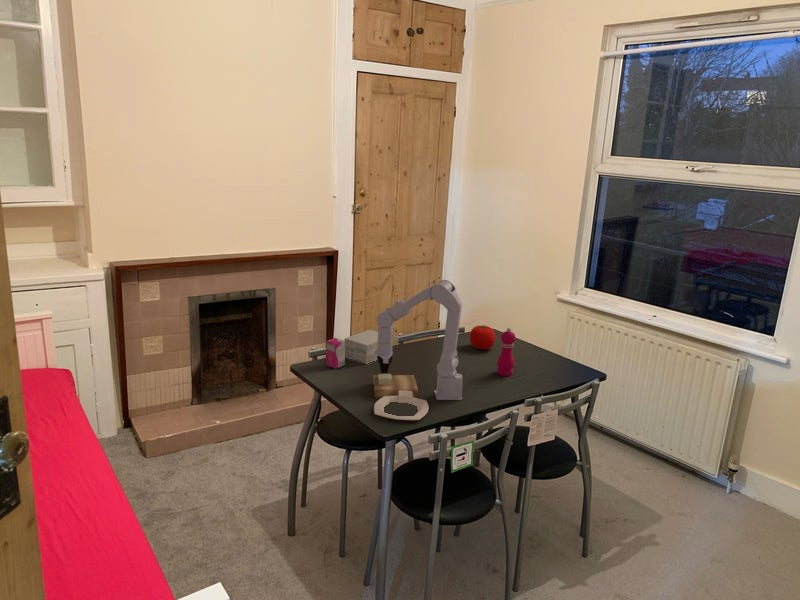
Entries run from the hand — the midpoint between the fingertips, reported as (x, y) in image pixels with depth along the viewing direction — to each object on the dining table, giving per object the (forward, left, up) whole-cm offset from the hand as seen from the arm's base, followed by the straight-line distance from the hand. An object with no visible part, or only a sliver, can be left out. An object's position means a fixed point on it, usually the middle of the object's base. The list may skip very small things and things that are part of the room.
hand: (383, 374), depth 233 cm
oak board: (-4, +5, -5) cm, 8 cm away
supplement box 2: (+5, -32, -5) cm, 33 cm away
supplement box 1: (+19, -20, -5) cm, 28 cm away
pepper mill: (-52, -13, -5) cm, 54 cm away
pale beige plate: (-5, +23, -5) cm, 24 cm away
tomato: (-49, -44, -5) cm, 66 cm away
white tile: (-7, +17, -3) cm, 18 cm away
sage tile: (0, +5, -1) cm, 5 cm away
